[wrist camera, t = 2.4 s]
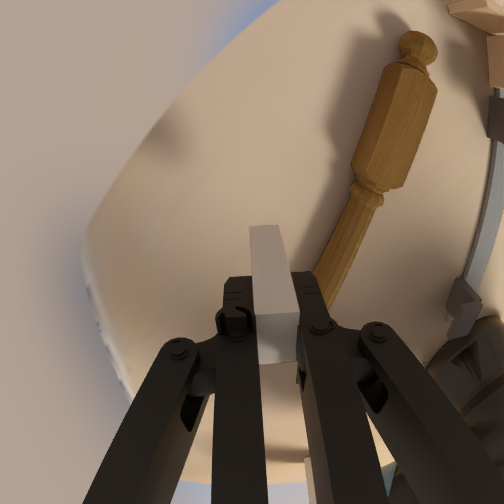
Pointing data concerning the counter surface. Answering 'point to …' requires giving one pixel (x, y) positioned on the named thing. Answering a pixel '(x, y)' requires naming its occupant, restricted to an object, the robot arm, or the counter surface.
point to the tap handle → (382, 153)
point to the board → (500, 176)
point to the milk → (310, 481)
